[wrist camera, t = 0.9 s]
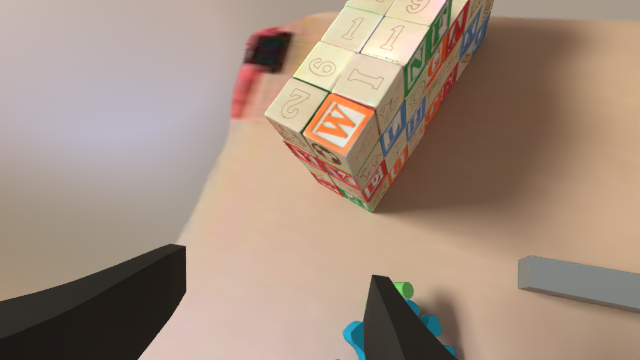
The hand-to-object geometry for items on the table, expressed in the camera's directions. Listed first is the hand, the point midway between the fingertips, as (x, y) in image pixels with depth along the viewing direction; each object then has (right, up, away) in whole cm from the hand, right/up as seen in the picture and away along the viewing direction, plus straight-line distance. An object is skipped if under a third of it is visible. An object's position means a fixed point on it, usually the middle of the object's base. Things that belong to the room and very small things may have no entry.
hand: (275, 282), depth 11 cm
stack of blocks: (+10, +11, +18) cm, 23 cm away
